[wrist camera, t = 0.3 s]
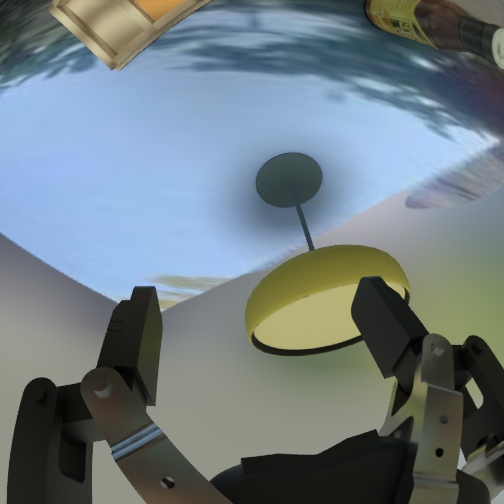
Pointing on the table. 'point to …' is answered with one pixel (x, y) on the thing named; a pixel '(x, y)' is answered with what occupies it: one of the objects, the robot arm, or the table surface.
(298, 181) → the cocktail glass
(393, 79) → the table surface
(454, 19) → the sauce bottle
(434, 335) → the robot arm
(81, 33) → the rack
